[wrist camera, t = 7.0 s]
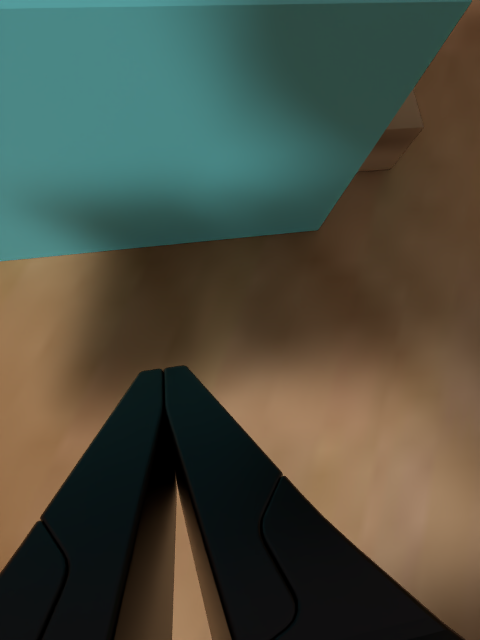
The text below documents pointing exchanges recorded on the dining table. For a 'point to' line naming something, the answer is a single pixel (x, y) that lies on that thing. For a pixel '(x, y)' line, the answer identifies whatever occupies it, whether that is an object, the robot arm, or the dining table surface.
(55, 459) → the dining table surface
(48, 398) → the dining table surface
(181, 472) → the robot arm
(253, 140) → the t block
